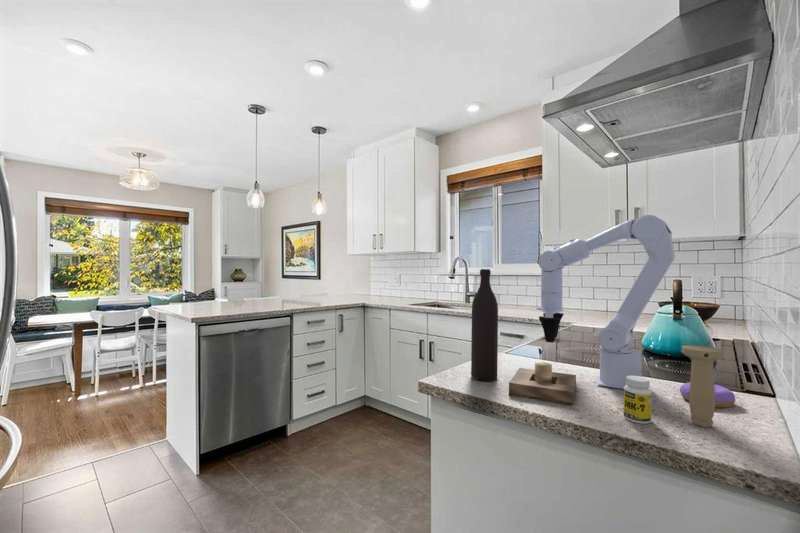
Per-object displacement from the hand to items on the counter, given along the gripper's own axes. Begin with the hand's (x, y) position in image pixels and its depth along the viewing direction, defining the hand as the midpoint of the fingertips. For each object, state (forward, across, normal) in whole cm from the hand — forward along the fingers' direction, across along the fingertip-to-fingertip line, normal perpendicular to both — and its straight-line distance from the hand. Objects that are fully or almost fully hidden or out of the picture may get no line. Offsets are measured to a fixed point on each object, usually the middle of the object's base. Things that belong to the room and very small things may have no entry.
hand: (551, 339), depth 109 cm
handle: (+10, +24, +30) cm, 40 cm away
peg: (+9, +18, 0) cm, 20 cm away
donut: (+10, +8, +34) cm, 36 cm away
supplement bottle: (+10, +27, +19) cm, 34 cm away
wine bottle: (+10, +15, -16) cm, 24 cm away
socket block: (+9, +18, 0) cm, 20 cm away
